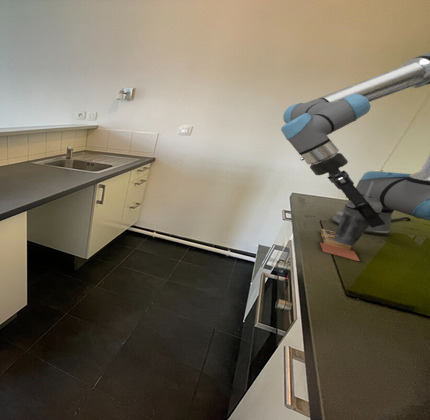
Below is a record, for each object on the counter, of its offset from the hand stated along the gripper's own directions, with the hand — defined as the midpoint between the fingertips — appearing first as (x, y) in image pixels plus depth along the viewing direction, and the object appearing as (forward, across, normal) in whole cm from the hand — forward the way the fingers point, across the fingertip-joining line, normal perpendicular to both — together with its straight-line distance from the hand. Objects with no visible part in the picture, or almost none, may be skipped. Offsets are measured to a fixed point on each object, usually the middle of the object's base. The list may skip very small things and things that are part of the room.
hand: (374, 221), depth 73 cm
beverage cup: (+4, 0, -9) cm, 9 cm away
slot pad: (+6, 0, -11) cm, 13 cm away
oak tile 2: (+6, -7, -11) cm, 14 cm away
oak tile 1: (+6, -14, -11) cm, 19 cm away
